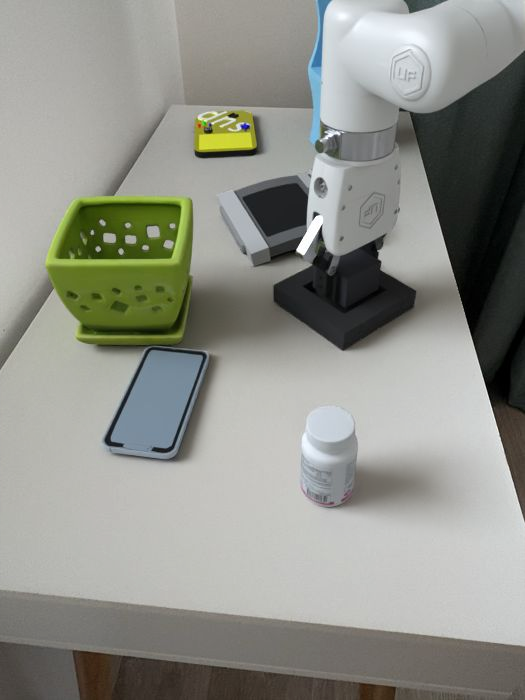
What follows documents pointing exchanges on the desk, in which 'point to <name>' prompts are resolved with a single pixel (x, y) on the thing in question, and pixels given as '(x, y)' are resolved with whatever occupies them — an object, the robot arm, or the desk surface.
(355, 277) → the dark grey square block
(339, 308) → the base pad
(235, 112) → the game console
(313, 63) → the vase
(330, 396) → the desk surface
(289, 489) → the desk surface
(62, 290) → the flower pot
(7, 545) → the desk surface
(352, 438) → the pill bottle
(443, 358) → the desk surface
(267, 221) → the alarm clock
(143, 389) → the smartphone
